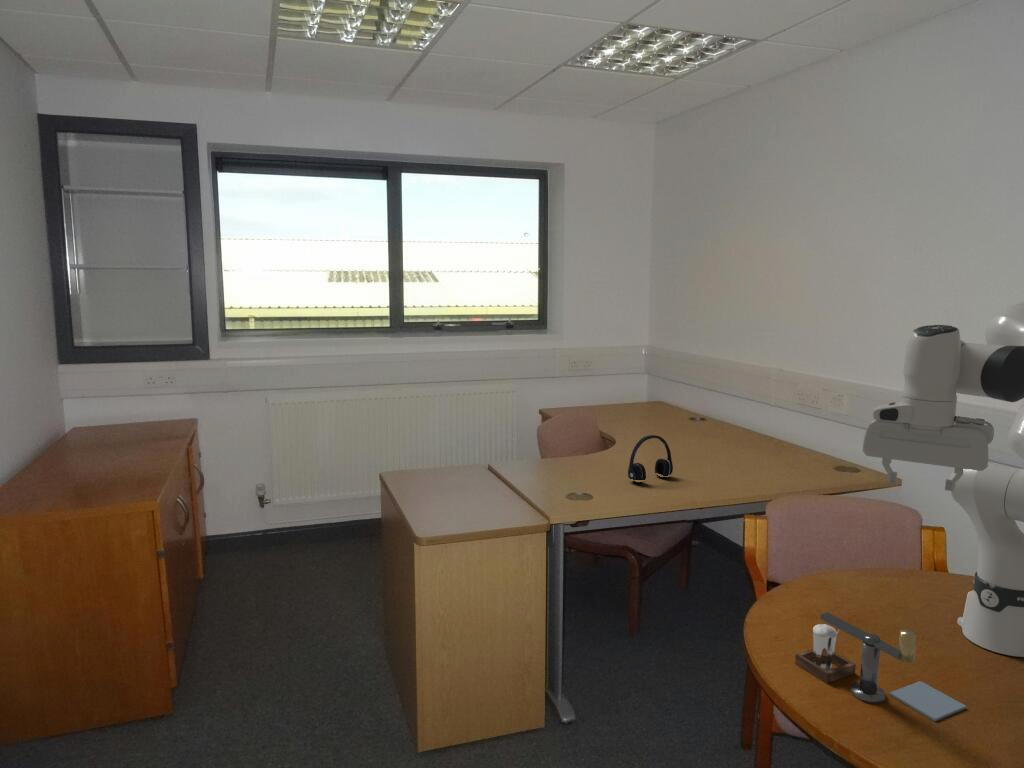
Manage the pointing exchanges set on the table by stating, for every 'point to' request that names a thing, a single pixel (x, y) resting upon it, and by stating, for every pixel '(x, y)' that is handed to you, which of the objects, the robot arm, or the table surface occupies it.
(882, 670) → the table surface
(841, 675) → the brown square frame
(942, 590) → the table surface
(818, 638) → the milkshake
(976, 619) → the robot arm
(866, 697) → the latch post
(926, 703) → the pad
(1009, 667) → the table surface
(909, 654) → the lever
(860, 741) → the table surface
